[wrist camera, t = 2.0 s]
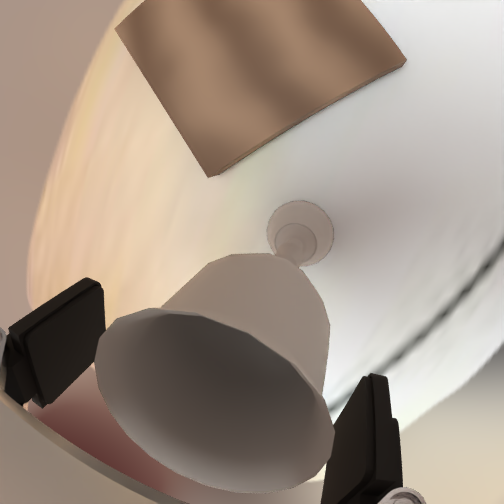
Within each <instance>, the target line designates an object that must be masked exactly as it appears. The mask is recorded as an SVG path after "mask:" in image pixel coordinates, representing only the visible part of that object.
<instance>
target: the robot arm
mask: <svg viewBox="0 0 504 504" xmlns="http://www.w3.org/2000/svg"><path fill="white" fill-rule="evenodd" d="M8 329H9V334H8V335H7V336H6V333H5V331H4V330H3V329H2V328H0V504H188V503H186V502H183V501H181V500H178V499H176V498H173V497H171V496H168V495H166V494H164V493H162V492H159V491H157V490H155V489H153V488H151V487H149V486H146V485H144V484H142V483H140V482H138V481H136V480H134V479H132V478H130V477H128V476H126V475H124V474H122V473H121V472H119V471H117V470H115V469H113V468H111V467H110V466H108V465H106V464H104V463H103V462H101V461H99V460H97V459H96V458H94V457H93V456H91V455H89V454H88V453H86V452H84V451H83V450H81V449H80V448H78V447H77V446H75V445H74V444H72V443H71V442H69V441H68V440H66V439H65V438H63V437H62V436H60V435H59V434H57V433H56V432H54V431H53V430H52V429H50V428H49V427H48V426H46V425H45V424H43V423H42V422H41V421H40V420H38V419H37V418H36V417H34V416H33V415H32V414H31V413H29V412H28V401H29V400H30V399H31V398H32V401H33V402H35V403H36V404H37V405H38V406H40V407H41V408H44V407H45V406H46V405H47V404H51V403H52V402H54V401H55V399H57V397H59V396H60V394H62V393H63V392H64V391H65V390H66V389H67V388H68V387H69V386H70V385H71V384H72V383H73V382H74V381H75V380H76V379H77V378H78V377H79V376H80V375H81V374H82V373H83V372H84V371H85V370H86V369H87V368H88V367H89V366H90V365H91V364H92V363H93V362H94V360H95V356H96V351H97V346H98V342H99V338H100V337H101V336H102V334H103V333H104V332H105V331H106V327H105V310H104V290H103V288H101V284H100V283H99V282H97V281H95V280H92V279H90V278H87V277H86V278H83V279H82V280H80V281H79V282H77V283H75V284H74V285H72V286H71V287H69V288H68V289H66V290H64V291H63V292H61V293H60V294H58V295H57V296H55V297H54V298H52V299H50V300H49V301H47V302H46V303H44V304H43V305H41V306H40V307H38V308H37V309H35V310H34V311H32V312H31V313H29V314H28V315H26V316H25V317H23V318H22V319H21V320H19V321H18V322H16V323H15V324H13V325H12V326H10V327H9V328H8ZM333 427H334V430H335V435H334V441H333V447H332V452H331V457H330V459H329V460H328V461H327V464H326V472H325V479H324V486H323V492H322V498H321V504H426V502H425V500H424V498H423V497H422V496H421V494H420V493H419V492H417V491H415V490H414V489H411V488H407V487H403V478H402V461H401V446H400V435H399V425H398V421H397V419H396V418H392V412H391V403H390V394H389V385H388V379H387V377H386V376H381V375H377V374H373V373H370V374H369V375H368V377H366V376H363V377H362V378H361V380H360V382H359V384H358V385H357V387H356V389H355V391H354V392H353V394H352V396H351V397H350V399H349V401H348V402H347V404H346V406H345V407H344V409H343V411H342V412H341V414H340V415H339V417H338V419H337V420H336V422H335V423H334V425H333Z"/></svg>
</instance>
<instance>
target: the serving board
mask: <svg viewBox="0 0 504 504" xmlns="http://www.w3.org/2000/svg"><path fill="white" fill-rule="evenodd" d="M115 31H116V32H117V34H118V35H119V37H120V39H121V40H122V42H123V43H124V45H125V46H126V48H127V50H128V51H129V53H130V54H131V56H132V58H133V59H134V61H135V62H136V64H137V66H138V67H139V69H140V70H141V72H142V73H143V75H144V77H145V78H146V80H147V81H148V83H149V85H150V86H151V88H152V89H153V91H154V93H155V94H156V96H157V97H158V99H159V101H160V102H161V104H162V105H163V107H164V108H165V110H166V112H167V113H168V115H169V116H170V118H171V120H172V121H173V123H174V124H175V126H176V128H177V129H178V131H179V132H180V134H181V136H182V137H183V139H184V140H185V142H186V144H187V145H188V147H189V148H190V150H191V151H192V153H193V155H194V156H195V158H196V159H197V161H198V163H199V164H200V166H201V167H202V169H203V171H204V172H205V174H206V175H207V177H208V178H209V177H213V176H216V175H219V174H220V173H222V172H223V171H225V170H226V169H228V168H229V167H231V166H232V165H234V164H235V163H237V162H238V161H240V160H241V159H243V158H244V157H246V156H247V155H249V154H250V153H252V152H253V151H255V150H257V149H258V148H260V147H261V146H263V145H264V144H266V143H267V142H269V141H271V140H272V139H274V138H275V137H277V136H279V135H280V134H282V133H283V132H285V131H287V130H288V129H290V128H292V127H293V126H295V125H297V124H298V123H300V122H302V121H303V120H305V119H307V118H308V117H310V116H312V115H313V114H315V113H317V112H318V111H320V110H322V109H324V108H325V107H327V106H329V105H331V104H332V103H334V102H336V101H338V100H339V99H341V98H343V97H345V96H347V95H348V94H350V93H352V92H354V91H356V90H358V89H359V88H361V87H363V86H365V85H367V84H369V83H371V82H373V81H374V80H376V79H378V78H380V77H382V76H384V75H386V74H388V73H390V72H392V71H394V70H396V69H398V68H400V67H402V66H403V64H404V63H405V62H406V60H407V59H406V58H405V56H404V55H403V54H402V52H401V51H400V49H399V48H398V47H397V45H396V44H395V42H394V41H393V40H392V38H391V37H390V36H389V34H388V33H387V32H386V30H385V29H384V28H383V27H382V25H381V24H380V23H379V22H378V20H377V19H376V18H375V17H374V15H373V14H372V13H371V12H370V11H369V9H368V8H367V7H366V6H365V5H364V4H363V2H362V1H361V0H145V1H144V2H143V3H141V4H140V5H139V6H138V7H137V8H136V9H135V10H134V11H133V12H132V13H130V14H129V15H128V16H127V17H126V18H125V19H124V20H123V21H122V22H121V23H120V24H119V25H118V26H117V27H116V28H115Z"/></svg>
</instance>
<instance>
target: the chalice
mask: <svg viewBox="0 0 504 504" xmlns="http://www.w3.org/2000/svg"><path fill="white" fill-rule="evenodd" d="M267 237H268V242H269V244H270V247H271V249H272V250H273V252H274V253H275V255H272V254H269V253H255V254H231V255H229V256H226V257H223V258H221V259H218V260H215V261H213V262H210V263H208V264H207V265H206V266H205V267H204V268H203V269H202V270H201V271H199V272H198V273H197V274H196V275H195V276H194V277H193V278H192V279H191V280H190V281H189V282H187V283H186V284H185V285H184V286H183V287H182V288H181V289H180V290H179V291H178V292H177V293H176V294H175V295H173V296H172V297H171V298H170V299H169V300H168V301H167V302H166V303H165V304H164V305H163V306H162V307H161V308H148V309H145V310H142V311H139V312H135V313H132V314H129V315H126V316H123V317H120V318H117V319H116V320H115V321H114V322H113V323H112V324H111V325H110V327H109V328H108V329H107V330H106V331H105V332H104V333H103V334H102V336H101V337H100V338H99V342H98V346H97V351H96V356H95V360H94V364H95V370H96V376H97V381H98V387H99V390H100V392H101V394H102V396H103V398H104V400H105V403H106V405H107V407H108V409H109V411H110V413H111V414H112V416H113V417H114V418H115V420H116V421H117V422H118V423H119V425H120V426H121V427H122V429H123V430H124V431H125V433H126V434H127V435H128V436H129V437H130V438H131V439H132V440H133V441H134V442H135V443H136V444H138V445H139V446H140V447H141V448H142V449H143V450H144V451H145V452H146V453H147V454H149V455H150V456H151V457H152V458H154V459H155V460H157V461H159V462H160V463H162V464H163V465H165V466H166V467H168V468H170V469H171V470H173V471H174V472H176V473H178V474H180V475H182V476H185V477H187V478H189V479H192V480H194V481H196V482H199V483H201V484H204V485H206V486H210V487H214V488H219V489H223V490H227V491H232V492H238V493H271V492H275V491H281V490H285V489H290V488H294V487H296V486H298V485H300V484H301V483H303V482H305V481H307V480H309V479H311V478H313V477H314V476H316V475H317V473H318V472H319V471H320V470H321V469H322V467H323V466H324V465H325V464H326V462H327V461H328V460H329V459H330V457H331V452H332V447H333V441H334V435H335V430H334V427H333V424H332V421H331V418H330V415H329V412H328V409H327V406H326V403H325V400H324V398H323V396H322V392H323V386H324V379H325V372H326V365H327V358H328V350H329V337H330V323H329V320H328V316H327V313H326V310H325V306H324V303H323V301H322V299H321V297H320V296H319V294H318V292H317V291H316V289H315V288H314V286H313V285H312V283H311V282H310V280H309V279H308V278H307V276H306V275H305V274H304V272H303V271H302V270H301V269H299V267H300V266H309V265H312V264H315V263H317V262H319V261H320V260H322V259H323V258H324V257H325V256H326V255H327V253H328V252H329V251H330V249H331V246H332V243H333V240H334V235H333V226H332V224H331V221H330V218H329V217H328V216H327V215H326V213H325V212H324V211H323V210H322V209H321V208H319V207H318V206H316V205H315V204H312V203H309V202H306V201H292V202H289V203H286V204H284V205H282V206H281V207H279V208H278V209H277V210H276V211H275V212H274V213H273V215H272V216H271V218H270V220H269V223H268V227H267Z"/></svg>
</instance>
